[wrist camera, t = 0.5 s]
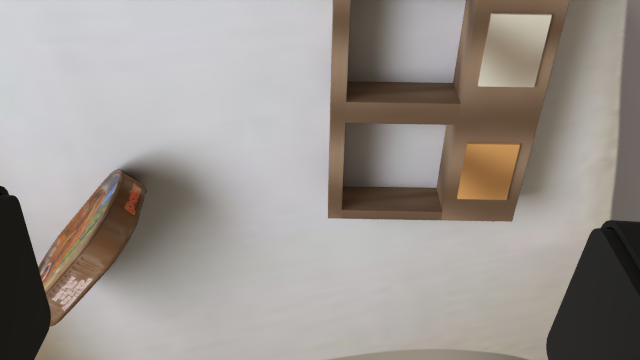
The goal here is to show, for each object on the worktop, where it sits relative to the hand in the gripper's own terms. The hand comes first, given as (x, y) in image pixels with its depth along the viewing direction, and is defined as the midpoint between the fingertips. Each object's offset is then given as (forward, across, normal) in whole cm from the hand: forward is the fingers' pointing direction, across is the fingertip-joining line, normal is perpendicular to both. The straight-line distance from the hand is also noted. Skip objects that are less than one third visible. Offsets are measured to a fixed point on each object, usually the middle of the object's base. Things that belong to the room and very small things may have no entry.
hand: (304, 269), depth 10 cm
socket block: (+31, -8, +12) cm, 34 cm away
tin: (+32, +17, +25) cm, 44 cm away
